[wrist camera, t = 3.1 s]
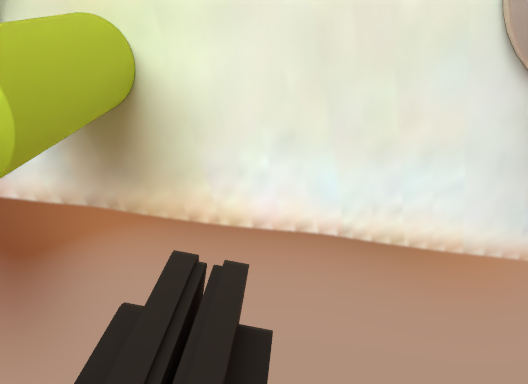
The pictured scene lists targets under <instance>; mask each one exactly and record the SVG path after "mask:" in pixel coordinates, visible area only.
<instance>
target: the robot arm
mask: <svg viewBox="0 0 528 384" xmlns="http://www.w3.org/2000/svg"><path fill="white" fill-rule="evenodd" d="M503 13H504V18H505V23H506V28H507V33H508V36H509V38H510V41H511V43H512V45H513V48H514V50H515V52H516V54H517V55H518V57H519V58H520V59H521V61H522V62H523V64H524V65H525V66H526V68H527V69H528V0H503ZM206 268H207V263H203V262H199V255H196V254H191V253H185V252H179V251H175V250H174V251H173V252H172V255H171V256H170V258H169V260H168V262H167V264H166V266H165V267H164V270H163V271H162V273H161V275H160V277H159V279H158V281H157V283H156V285H155V287H154V289H153V291H152V293H151V295H150V297H149V299H148V301H147V302H146V304H145V306H140V305H135V304H130V303H123V304H122V305H121V306H120V307H119V309H118V310H117V312H116V314H115V315H114V317H113V319H112V321H111V322H110V324H109V326H108V327H107V329H106V331H105V332H104V334H103V336H102V337H101V339H100V341H99V343H98V344H97V346H96V348H95V349H94V351H93V353H92V355H91V356H90V358H89V360H88V361H87V363H86V364H85V366H84V368H83V370H82V371H81V373H80V375H79V376H78V378H77V380H76V381H75V383H74V384H267V380H268V371H269V361H270V353H271V344H272V334H273V331H272V330H267V329H262V328H256V327H251V326H246V325H241V324H239V320H240V314H241V309H242V303H243V297H244V291H245V285H246V280H247V274H248V268H249V264H244V263H238V262H234V261H228V260H225V261H224V264H223V266H219V265H214V266H213V269H212V271H211V274H210V277H209V280H208V283H207V286H206V289H205V292H204V294H203V291H204V283H205V276H206Z"/></svg>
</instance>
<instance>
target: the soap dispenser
mask: <svg viewBox="0 0 528 384" xmlns="http://www.w3.org/2000/svg"><path fill="white" fill-rule="evenodd" d="M134 77H135V63H134V57H133V54H132V51H131V48H130V46H129V44H128V42H127V40H126V39H125V37H124V36H123V35H122V33H121V32H120V31H119V30H118V29H117V28H116V27H115V26H114V25H113V24H111V23H110V22H108V21H107V20H105V19H103V18H101V17H99V16H97V15H94V14H90V13H70V14H63V15H55V16H48V17H41V18H33V19H26V20H19V21H11V22H4V23H0V178H2V177H4V176H5V175H7V174H8V173H10V172H11V171H13V170H15V169H16V168H18V167H19V166H21V165H23V164H24V163H26V162H27V161H29V160H31V159H32V158H34V157H35V156H37V155H39V154H40V153H42V152H43V151H45V150H47V149H48V148H50V147H51V146H53V145H55V144H56V143H58V142H59V141H61V140H63V139H64V138H66V137H67V136H69V135H71V134H72V133H74V132H75V131H77V130H79V129H80V128H82V127H83V126H85V125H87V124H88V123H90V122H91V121H93V120H95V119H96V118H98V117H99V116H101V115H103V114H104V113H106V112H107V111H109V110H111V109H112V108H114V107H115V106H117V105H118V104H120V103H121V102H122V101H123V100H124V99H125V98H126V96H127V95H128V94H129V92H130V90H131V88H132V85H133V82H134Z"/></svg>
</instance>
